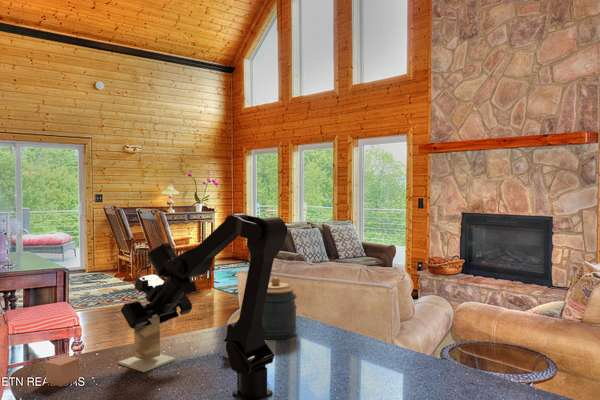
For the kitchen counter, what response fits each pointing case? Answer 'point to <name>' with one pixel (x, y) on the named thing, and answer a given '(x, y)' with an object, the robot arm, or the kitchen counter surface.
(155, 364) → the pad
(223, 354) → the rook chess piece
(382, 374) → the kitchen counter surface
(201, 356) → the kitchen counter surface
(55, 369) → the terracotta block
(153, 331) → the brown block
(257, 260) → the robot arm
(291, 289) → the canister
